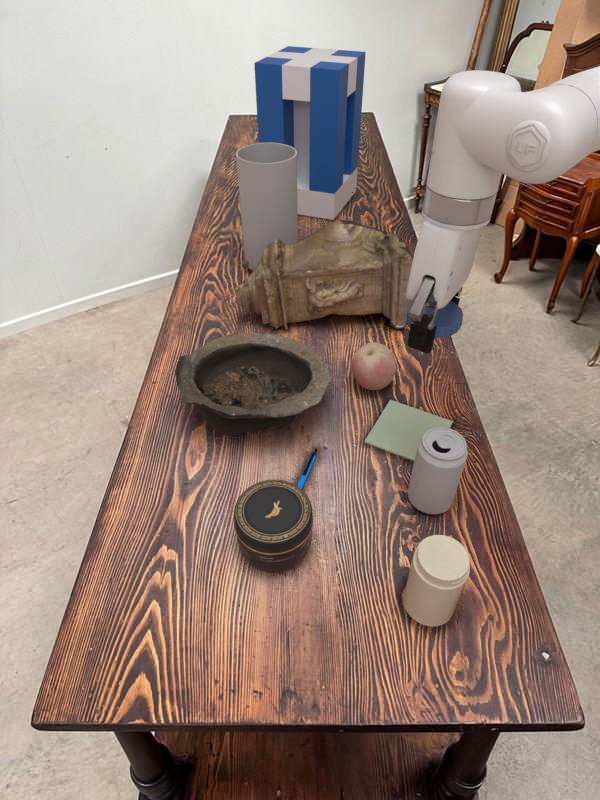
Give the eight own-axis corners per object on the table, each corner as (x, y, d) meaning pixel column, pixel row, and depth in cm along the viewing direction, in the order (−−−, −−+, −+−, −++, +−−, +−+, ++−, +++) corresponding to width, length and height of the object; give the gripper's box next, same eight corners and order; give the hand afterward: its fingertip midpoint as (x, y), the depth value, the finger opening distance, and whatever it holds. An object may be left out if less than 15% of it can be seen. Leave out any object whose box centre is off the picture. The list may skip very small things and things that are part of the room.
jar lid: (396, 325, 70) (397, 314, 69) (422, 301, 74) (424, 291, 73) (445, 345, 66) (447, 334, 65) (470, 319, 70) (472, 308, 69)
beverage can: (398, 500, 77) (409, 444, 69) (421, 474, 81) (435, 417, 72) (437, 525, 74) (454, 469, 66) (460, 496, 77) (479, 440, 69)
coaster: (452, 422, 88) (453, 421, 88) (431, 468, 81) (431, 466, 81) (389, 401, 92) (390, 399, 92) (364, 442, 85) (364, 440, 85)
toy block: (356, 190, 159) (365, 51, 135) (333, 219, 144) (339, 70, 121) (290, 181, 164) (288, 46, 140) (262, 208, 150) (254, 62, 126)
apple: (358, 365, 99) (361, 330, 94) (398, 376, 97) (404, 340, 92) (343, 392, 94) (346, 356, 88) (385, 404, 92) (391, 368, 86)
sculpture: (424, 238, 93) (223, 256, 94) (418, 334, 106) (242, 347, 108) (407, 198, 106) (232, 214, 108) (404, 287, 119) (248, 300, 121)
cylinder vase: (255, 247, 133) (248, 140, 116) (303, 253, 131) (304, 145, 114) (237, 272, 124) (227, 160, 107) (289, 279, 122) (287, 166, 105)
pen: (319, 451, 84) (319, 446, 83) (274, 554, 71) (273, 549, 70) (313, 450, 84) (313, 445, 84) (267, 552, 71) (267, 547, 70)
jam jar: (460, 592, 67) (479, 546, 60) (445, 636, 63) (463, 592, 56) (413, 570, 69) (425, 523, 62) (395, 611, 65) (406, 566, 58)
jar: (313, 513, 75) (314, 479, 70) (310, 579, 68) (311, 546, 63) (243, 510, 76) (238, 475, 71) (232, 575, 69) (226, 542, 63)
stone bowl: (177, 463, 82) (166, 417, 76) (190, 368, 101) (182, 326, 95) (338, 451, 83) (340, 404, 77) (320, 360, 102) (321, 317, 97)
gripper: (455, 171, 66) (430, 296, 78) (392, 223, 55) (375, 359, 68) (516, 184, 63) (480, 312, 75) (461, 242, 52) (431, 380, 65)
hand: (431, 333), depth 71 cm, fingers closed on jar lid, 6 cm apart
